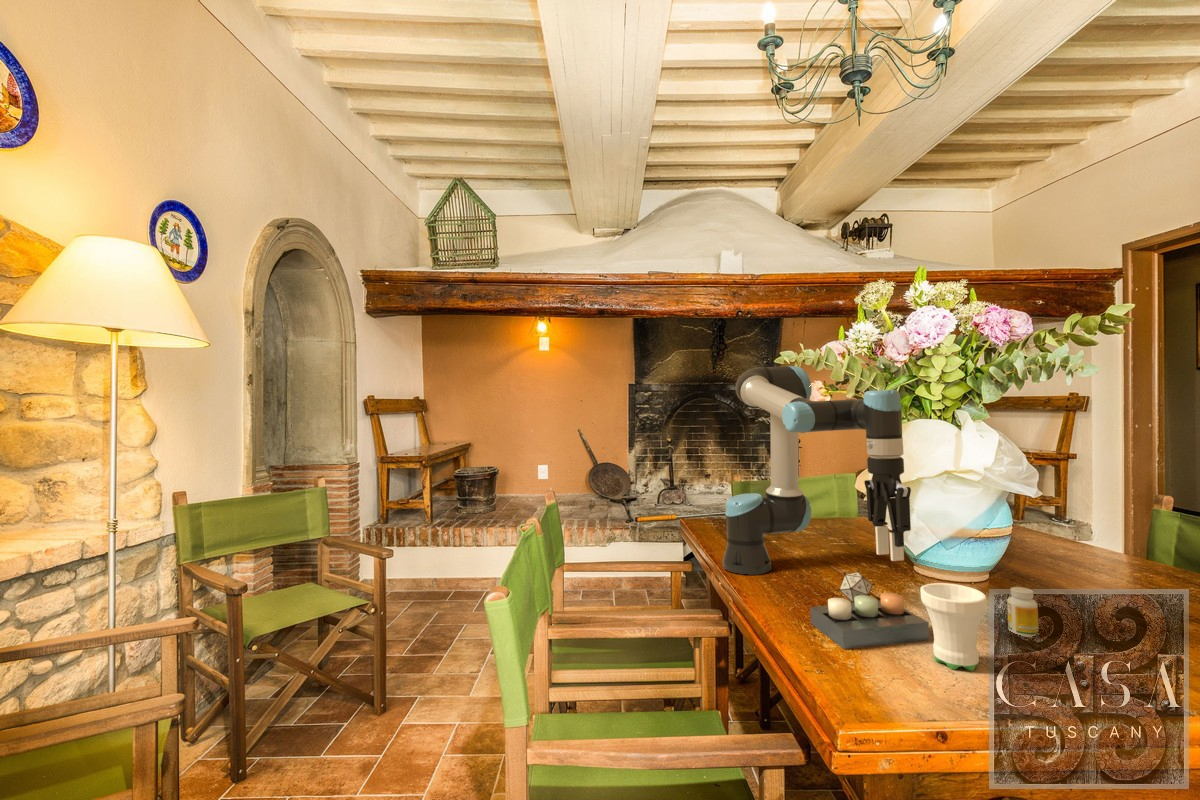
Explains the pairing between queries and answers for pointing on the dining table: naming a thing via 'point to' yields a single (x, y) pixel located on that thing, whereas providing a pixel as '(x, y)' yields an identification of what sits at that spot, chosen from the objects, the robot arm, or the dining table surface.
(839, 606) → the ivory button
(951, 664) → the cup
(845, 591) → the game die
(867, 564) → the dining table surface
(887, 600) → the terracotta button
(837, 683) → the dining table surface
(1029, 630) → the supplement bottle
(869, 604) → the sage button
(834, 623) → the panel
